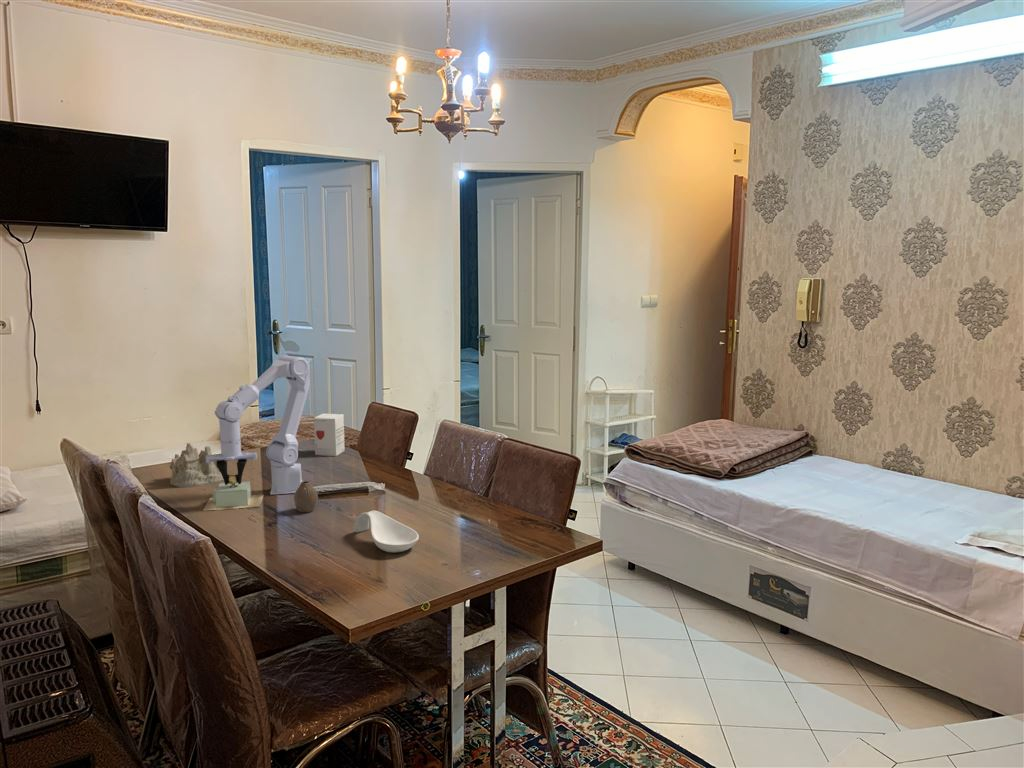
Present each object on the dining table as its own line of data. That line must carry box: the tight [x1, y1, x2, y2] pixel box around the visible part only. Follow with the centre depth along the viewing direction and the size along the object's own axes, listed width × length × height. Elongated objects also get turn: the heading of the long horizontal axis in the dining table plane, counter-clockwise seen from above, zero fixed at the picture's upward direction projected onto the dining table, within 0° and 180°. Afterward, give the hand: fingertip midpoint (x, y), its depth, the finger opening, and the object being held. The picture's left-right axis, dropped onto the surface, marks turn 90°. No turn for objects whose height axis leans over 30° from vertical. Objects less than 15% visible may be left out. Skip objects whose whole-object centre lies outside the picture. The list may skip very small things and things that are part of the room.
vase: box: [293, 480, 319, 513], centre depth 222 cm, size 7×7×9 cm
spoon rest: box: [353, 510, 420, 554], centre depth 196 cm, size 24×12×7 cm, turn 43°
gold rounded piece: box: [227, 472, 238, 487], centre depth 229 cm, size 7×7×8 cm
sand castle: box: [169, 442, 224, 488], centre depth 254 cm, size 16×16×15 cm
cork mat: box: [203, 494, 264, 512], centre depth 230 cm, size 16×12×1 cm
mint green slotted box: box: [212, 480, 252, 508], centre depth 229 cm, size 10×9×5 cm
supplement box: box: [313, 413, 345, 457], centre depth 290 cm, size 9×9×15 cm
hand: (233, 483), depth 229 cm, fingers closed on gold rounded piece, 3 cm apart
